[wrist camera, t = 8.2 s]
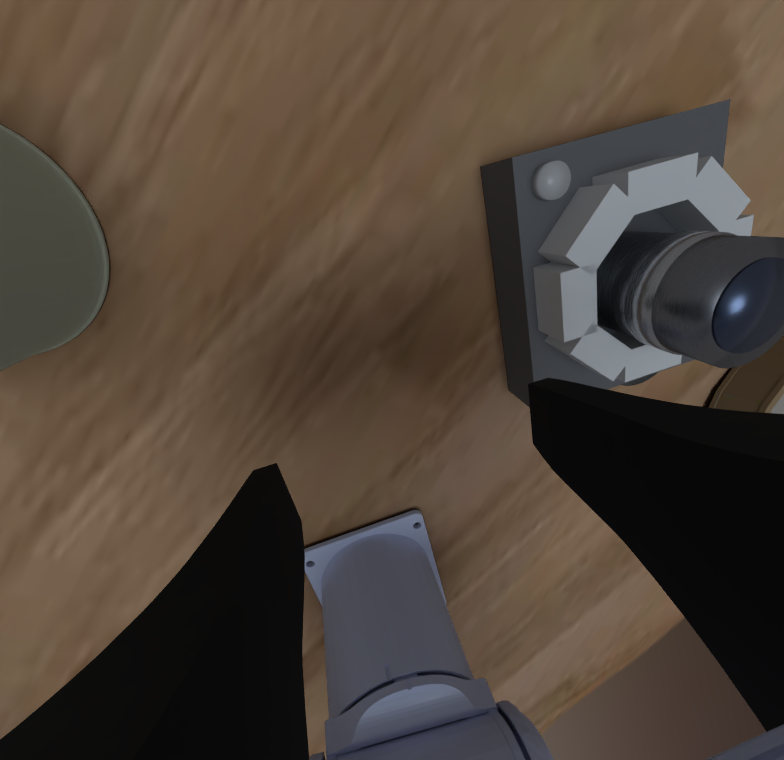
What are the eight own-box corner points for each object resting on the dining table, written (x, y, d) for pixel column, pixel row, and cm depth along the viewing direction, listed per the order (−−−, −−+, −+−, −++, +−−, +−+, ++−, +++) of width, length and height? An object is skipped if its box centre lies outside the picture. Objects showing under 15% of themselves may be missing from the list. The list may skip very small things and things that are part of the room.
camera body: (657, 341, 24) (739, 369, 20) (508, 390, 23) (559, 432, 19) (669, 115, 19) (783, 84, 15) (480, 166, 18) (540, 149, 14)
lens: (677, 243, 19) (840, 255, 13) (633, 336, 20) (763, 381, 14) (601, 216, 17) (749, 215, 12) (560, 317, 19) (673, 360, 13)
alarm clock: (901, 400, 27) (776, 575, 27) (809, 383, 32) (702, 533, 32) (856, 302, 23) (707, 511, 23) (756, 299, 27) (632, 473, 27)
